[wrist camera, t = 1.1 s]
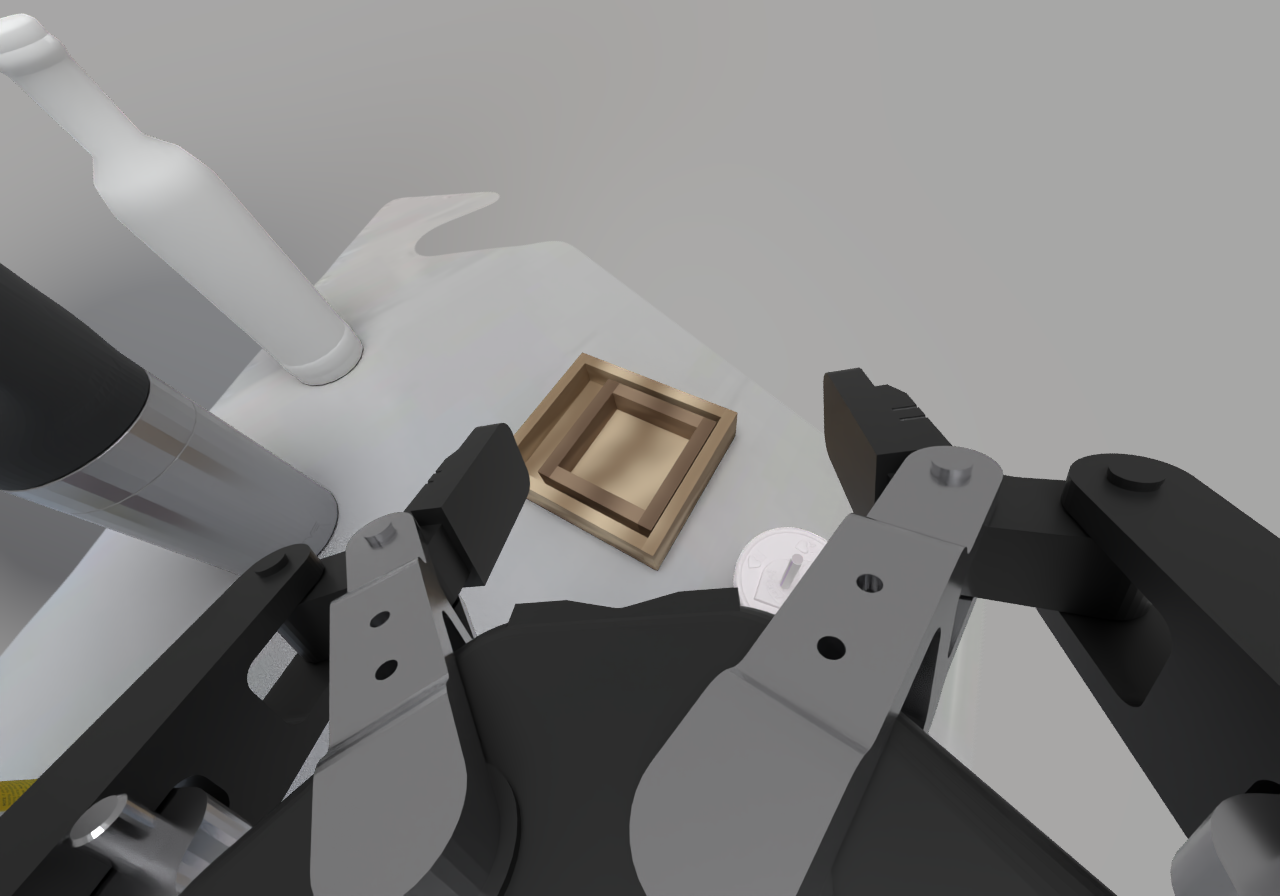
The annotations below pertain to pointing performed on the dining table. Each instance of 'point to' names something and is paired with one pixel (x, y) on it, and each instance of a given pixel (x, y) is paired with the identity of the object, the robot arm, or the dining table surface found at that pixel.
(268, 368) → the dining table surface
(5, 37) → the bottle
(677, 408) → the brown wooden tray
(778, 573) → the smoothie
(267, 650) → the dining table surface
